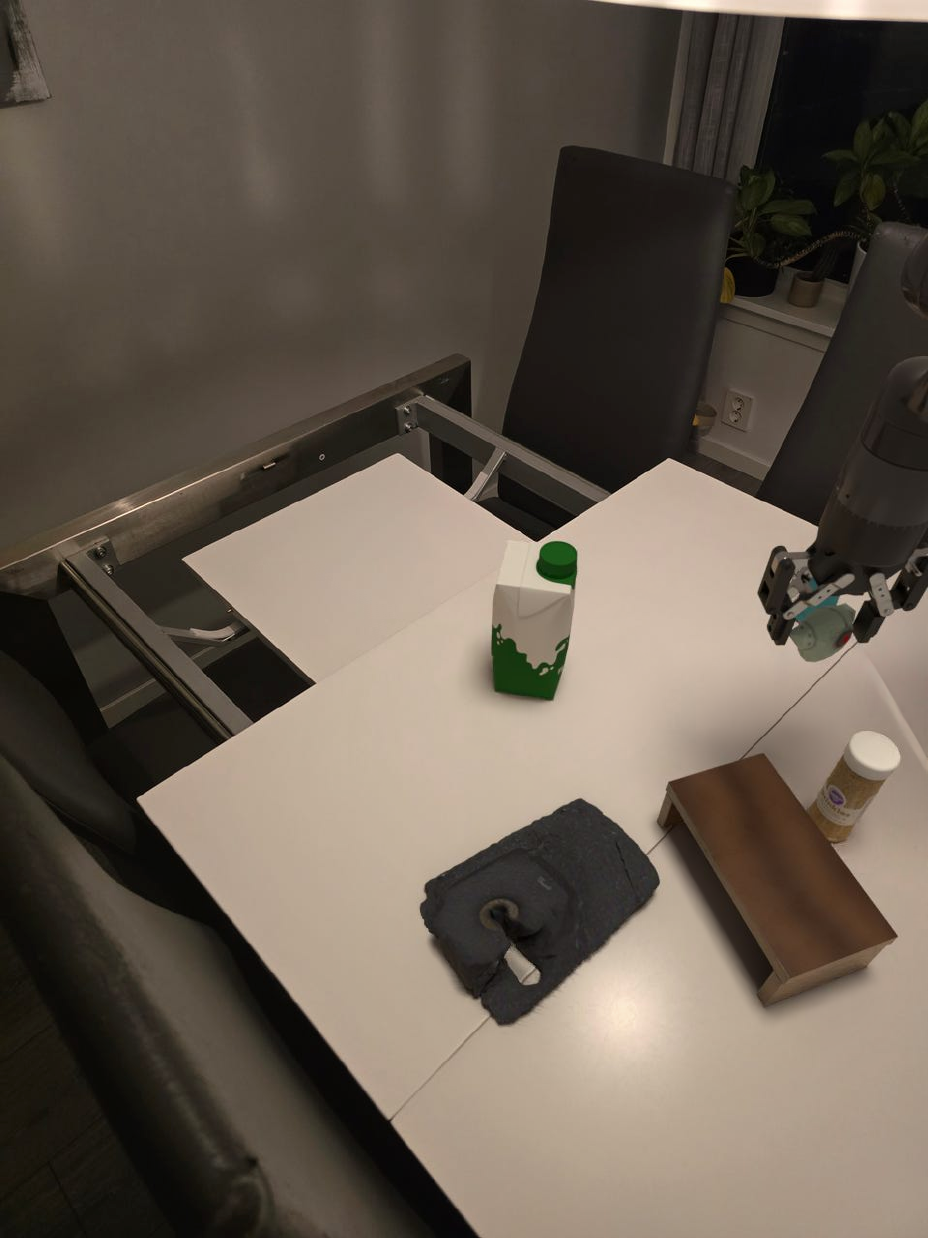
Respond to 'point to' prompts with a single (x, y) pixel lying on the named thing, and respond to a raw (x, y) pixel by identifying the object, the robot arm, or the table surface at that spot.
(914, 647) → the table surface
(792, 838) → the shelf
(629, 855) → the dark slate chunk
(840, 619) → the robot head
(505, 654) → the milk carton
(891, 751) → the sprinkles bottle
